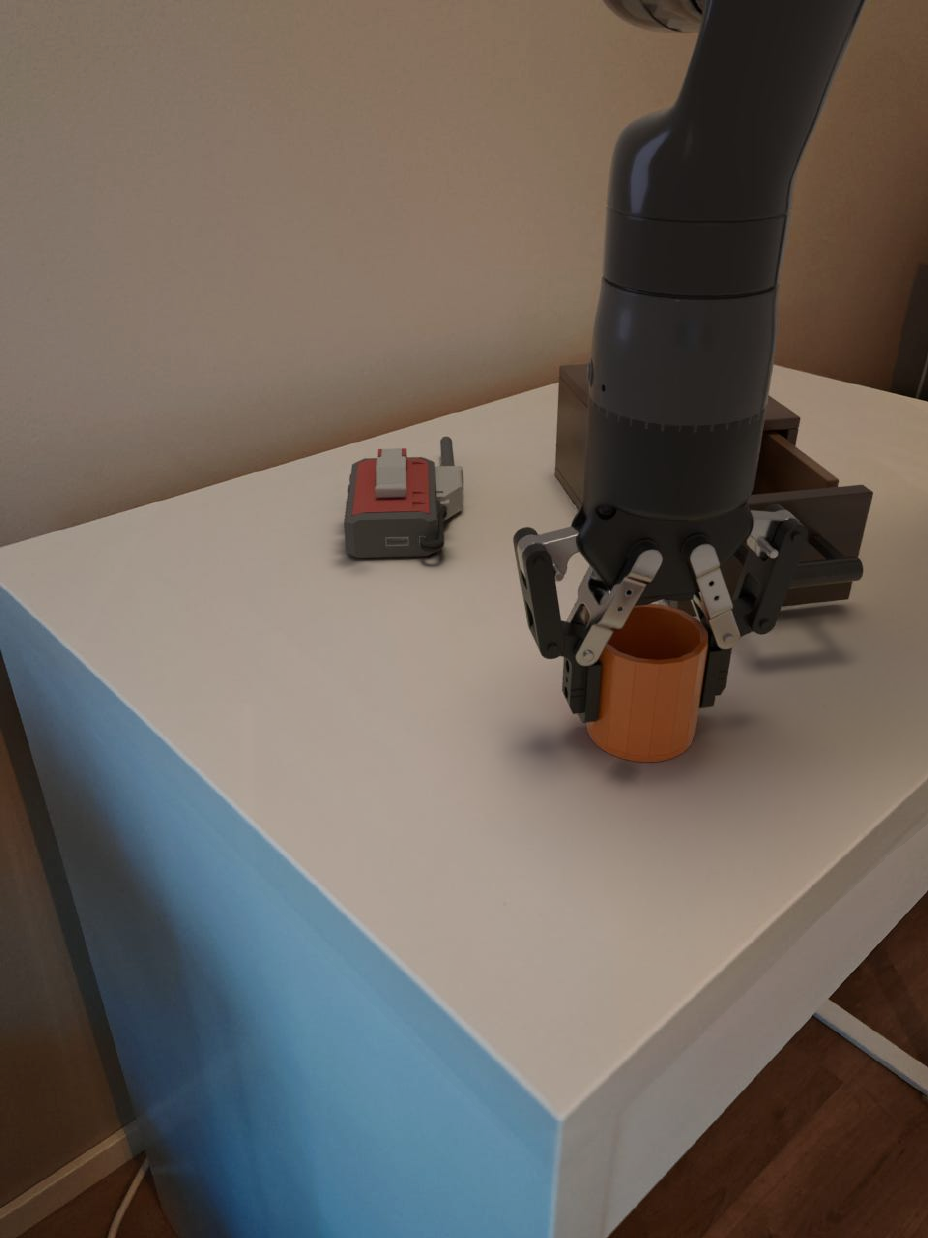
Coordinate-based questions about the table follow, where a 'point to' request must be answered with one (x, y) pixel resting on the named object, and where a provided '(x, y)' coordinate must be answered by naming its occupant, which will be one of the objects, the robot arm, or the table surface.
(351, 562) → the table surface
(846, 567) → the drawer
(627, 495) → the robot arm
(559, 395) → the cabinet
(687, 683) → the orange cup
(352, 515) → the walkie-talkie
